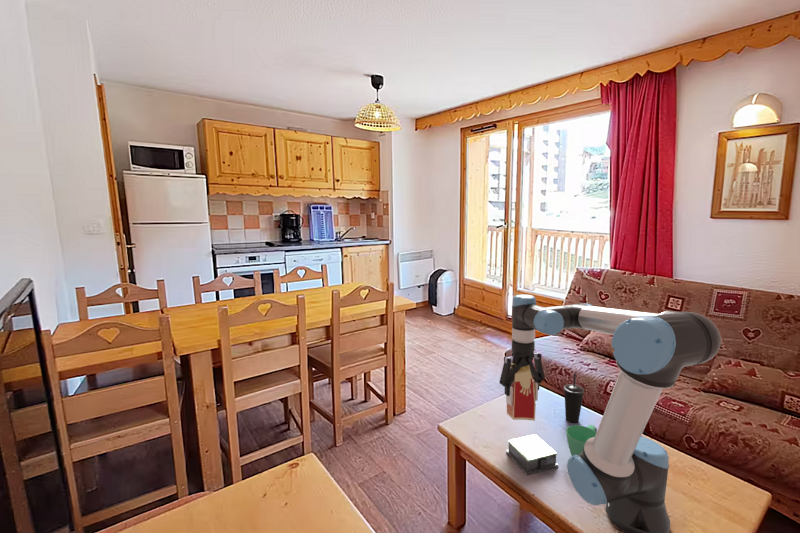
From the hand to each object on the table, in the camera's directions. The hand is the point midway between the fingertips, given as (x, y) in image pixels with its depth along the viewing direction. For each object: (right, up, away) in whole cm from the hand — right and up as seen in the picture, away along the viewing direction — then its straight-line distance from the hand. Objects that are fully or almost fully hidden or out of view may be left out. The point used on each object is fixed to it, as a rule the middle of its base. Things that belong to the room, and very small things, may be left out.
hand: (521, 401), depth 134 cm
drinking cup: (+27, -15, +22) cm, 38 cm away
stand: (+3, -19, -2) cm, 20 cm away
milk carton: (-1, -5, +1) cm, 5 cm away
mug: (+21, -19, -1) cm, 28 cm away
